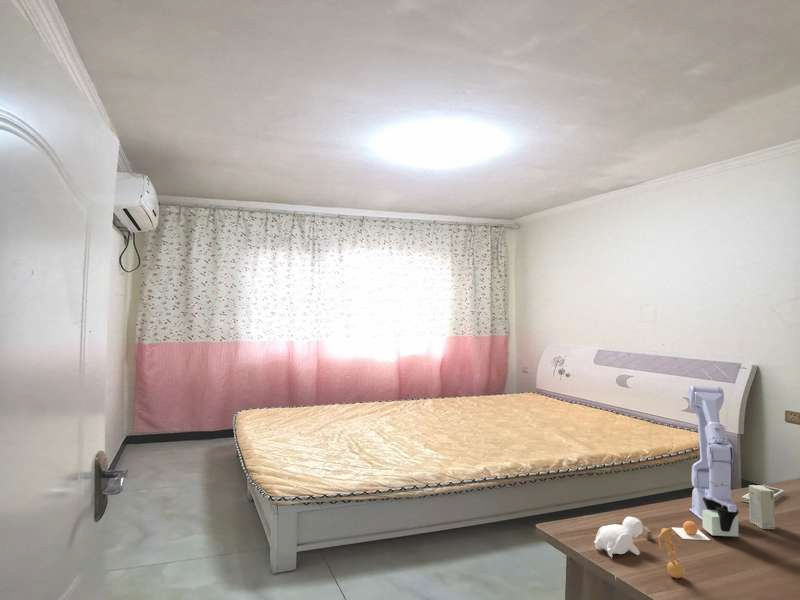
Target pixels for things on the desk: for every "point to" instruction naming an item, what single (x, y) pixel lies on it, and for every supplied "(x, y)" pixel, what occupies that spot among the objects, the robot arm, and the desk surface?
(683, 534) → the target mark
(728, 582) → the desk surface
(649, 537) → the stopper
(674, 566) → the figurine
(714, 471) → the robot arm
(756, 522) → the skincare box
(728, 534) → the pale green block
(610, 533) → the white crawling baby figure
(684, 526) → the ball
